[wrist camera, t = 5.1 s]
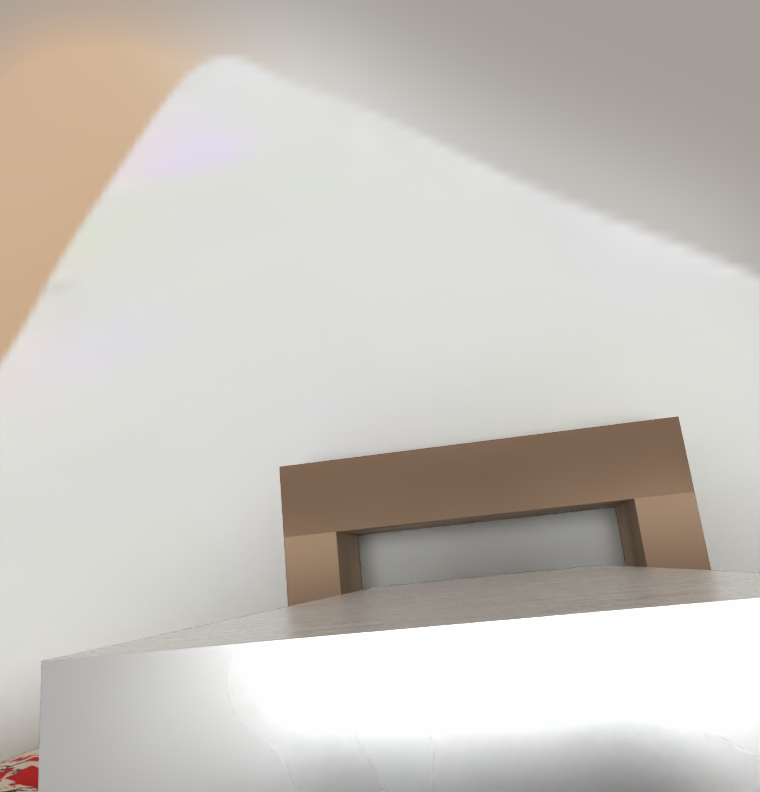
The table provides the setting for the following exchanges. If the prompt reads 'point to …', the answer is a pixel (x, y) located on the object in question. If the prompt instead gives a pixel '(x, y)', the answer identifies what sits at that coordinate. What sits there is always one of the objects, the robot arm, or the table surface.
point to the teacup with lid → (20, 773)
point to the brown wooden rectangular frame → (492, 497)
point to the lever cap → (429, 692)
